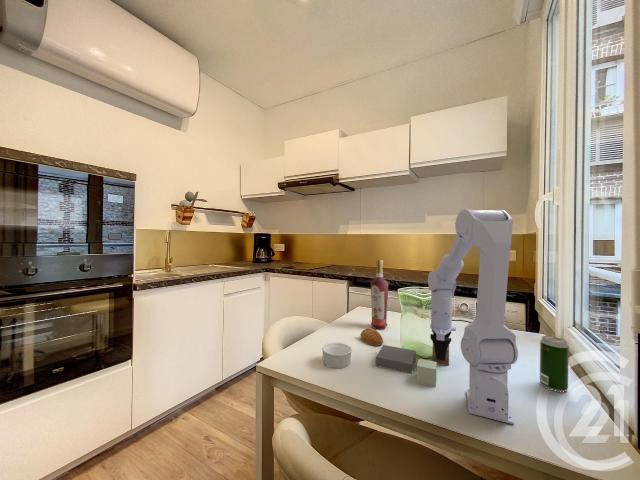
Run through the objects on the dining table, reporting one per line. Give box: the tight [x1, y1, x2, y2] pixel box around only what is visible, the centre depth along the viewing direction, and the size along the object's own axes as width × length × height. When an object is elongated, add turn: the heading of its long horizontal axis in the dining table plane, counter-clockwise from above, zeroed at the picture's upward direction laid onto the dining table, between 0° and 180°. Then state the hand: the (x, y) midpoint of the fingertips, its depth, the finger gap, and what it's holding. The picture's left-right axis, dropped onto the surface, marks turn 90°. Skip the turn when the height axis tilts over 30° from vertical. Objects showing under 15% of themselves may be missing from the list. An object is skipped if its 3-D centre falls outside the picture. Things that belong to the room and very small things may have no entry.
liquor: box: [370, 259, 389, 330], centre depth 112 cm, size 7×7×28 cm
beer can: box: [539, 335, 570, 393], centre depth 68 cm, size 5×5×12 cm
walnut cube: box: [431, 343, 450, 366], centre depth 82 cm, size 4×4×4 cm
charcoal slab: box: [375, 344, 417, 374], centre depth 80 cm, size 10×10×3 cm
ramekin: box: [321, 342, 353, 369], centre depth 80 cm, size 9×9×4 cm
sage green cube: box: [416, 358, 438, 388], centre depth 70 cm, size 4×4×4 cm
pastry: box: [360, 327, 384, 347], centre depth 96 cm, size 9×7×4 cm
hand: (440, 356), depth 82 cm, fingers closed on walnut cube, 4 cm apart
